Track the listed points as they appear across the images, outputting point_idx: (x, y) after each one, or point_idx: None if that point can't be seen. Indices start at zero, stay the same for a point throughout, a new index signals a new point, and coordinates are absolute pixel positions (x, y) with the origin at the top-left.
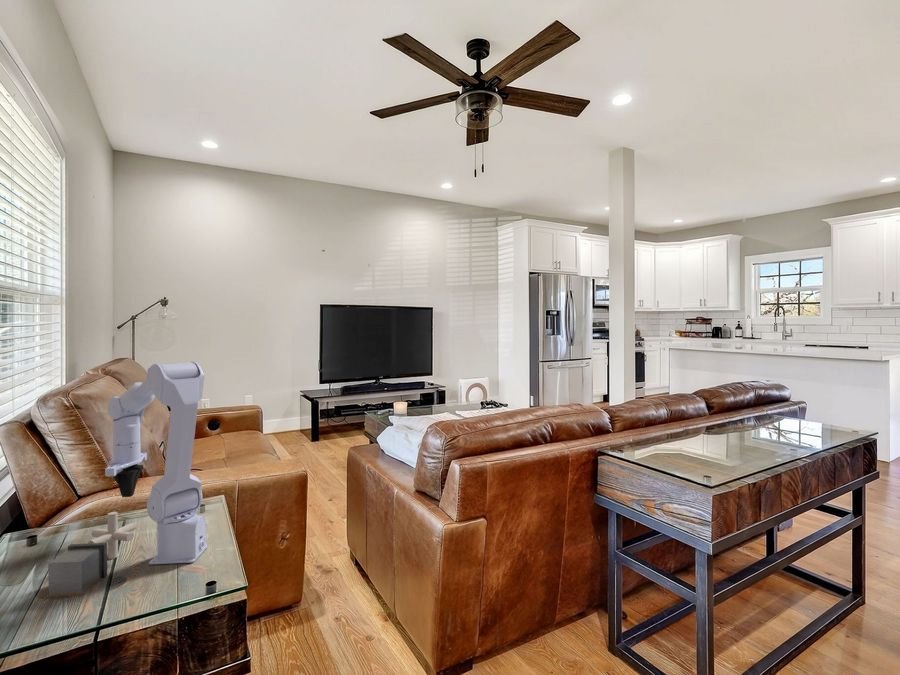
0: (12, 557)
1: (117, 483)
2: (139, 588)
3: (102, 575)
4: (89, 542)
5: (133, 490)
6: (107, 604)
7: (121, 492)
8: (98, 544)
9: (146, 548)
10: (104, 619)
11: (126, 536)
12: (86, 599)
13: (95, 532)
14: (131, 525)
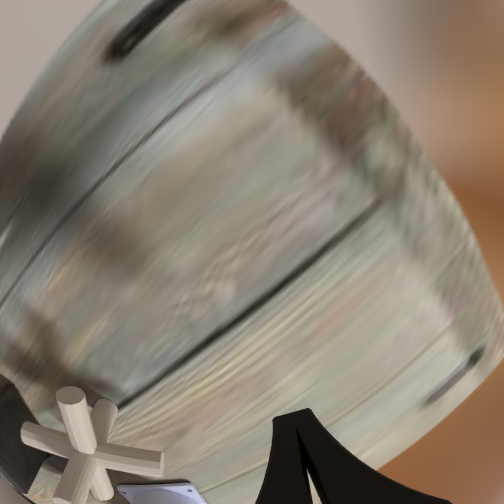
0: (34, 96)
1: (258, 497)
2: None
3: None
4: (22, 431)
5: (310, 475)
6: None
7: (273, 442)
8: (12, 483)
9: (177, 447)
10: None
11: (91, 492)
12: None
13: (59, 409)
14: (149, 475)
